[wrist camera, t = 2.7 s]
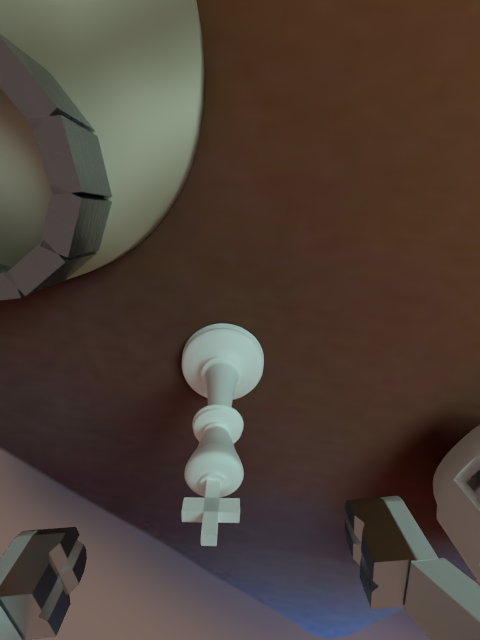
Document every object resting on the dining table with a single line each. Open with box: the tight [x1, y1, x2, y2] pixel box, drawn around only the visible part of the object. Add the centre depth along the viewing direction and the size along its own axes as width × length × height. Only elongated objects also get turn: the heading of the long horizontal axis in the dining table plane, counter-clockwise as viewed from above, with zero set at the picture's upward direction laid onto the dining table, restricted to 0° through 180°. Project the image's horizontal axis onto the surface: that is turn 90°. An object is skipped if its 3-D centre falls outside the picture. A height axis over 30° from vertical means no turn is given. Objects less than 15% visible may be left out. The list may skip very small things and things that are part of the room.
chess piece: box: [182, 323, 264, 546], centre depth 12 cm, size 5×5×10 cm
